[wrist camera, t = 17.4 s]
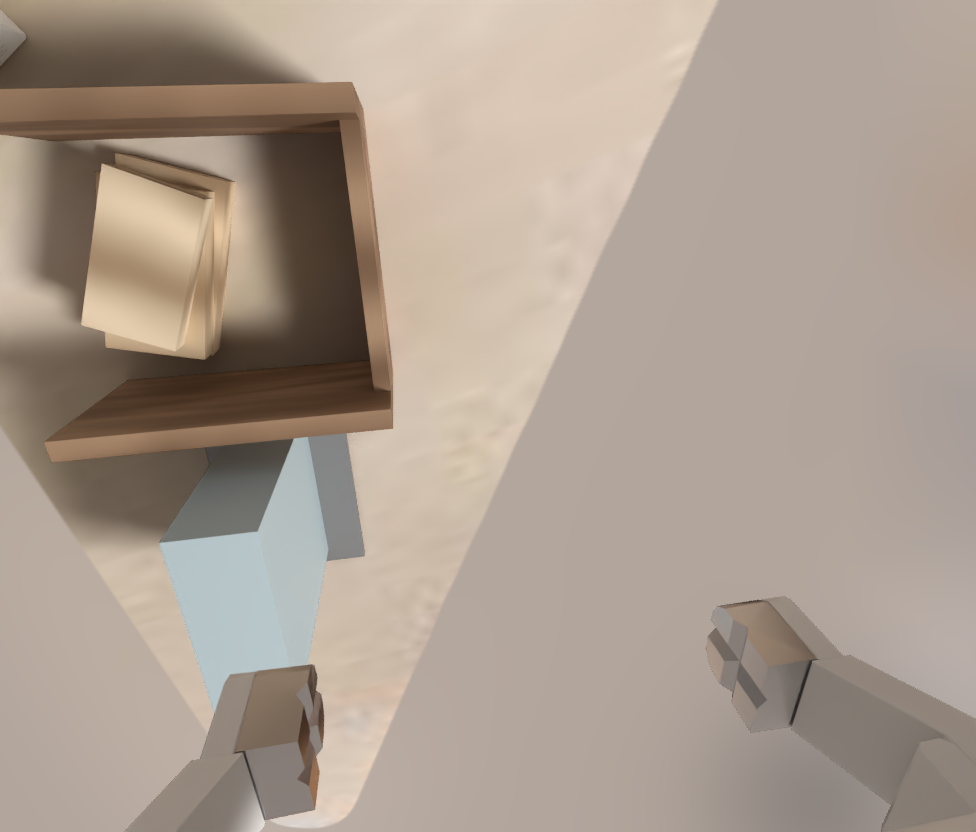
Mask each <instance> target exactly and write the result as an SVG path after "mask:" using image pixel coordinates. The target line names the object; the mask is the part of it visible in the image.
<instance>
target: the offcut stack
mask: <svg viewBox="0 0 976 832" xmlns="http://www.w3.org/2000/svg"><path fill="white" fill-rule="evenodd" d="M95 185H96V201H97V204H96V212H95V220H94V228H93V235H92V243H91V251H90V259H89V266H88V274H87V282H86V290H85V297H84V305H83V313H82V321H81V325H82V326H86V327H90V328H93V329H97V330H100V331H104V332H105V344H106V348H114V349H122V350H130V351H138V352H146V353H154V354H162V355H170V356H178V357H186V358H194V359H203V360H205V359H206V358H207V357H208V356H213V355H214V354H215V353H216V352H217V351H218V350H219V349H220V341H221V331H222V320H223V309H224V298H225V287H226V276H227V265H228V254H229V243H230V232H231V221H232V211H233V200H234V189H235V182H233V181H229V180H225V179H221V178H217V177H214V176H210V175H206V174H202V173H198V172H194V171H190V170H187V169H183V168H179V167H175V166H171V165H167V164H163V163H160V162H156V161H152V160H148V159H144V158H140V157H136V156H133V155H129V154H120V153H115V164H104V163H102V166H101V172H95Z"/></svg>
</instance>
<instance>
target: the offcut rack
mask: <svg viewBox="0 0 976 832" xmlns="http://www.w3.org/2000/svg"><path fill="white" fill-rule="evenodd" d="M324 132H341V138H342V145H343V153H344V161H345V169H346V176H347V184H348V192H349V200H350V207H351V215H352V223H353V231H354V238H355V246H356V254H357V262H358V269H359V277H360V285H361V293H362V300H363V308H364V316H365V324H366V331H367V339H368V347H369V355H370V360H367V361H355V362H343V363H331V364H319V365H307V366H295V367H283V368H271V369H259V370H247V371H235V372H223V373H211V374H199V375H187V376H175V377H163V378H151V379H139V380H127V381H126V382H125V383H123V384H122V385H121V386H119V387H118V388H117V389H115V390H114V391H113V392H111V393H110V394H108V395H107V396H106V397H104V398H103V399H102V400H100V401H99V402H98V403H96V404H95V405H94V406H92V407H91V408H89V409H88V410H87V411H85V412H84V413H83V414H81V415H80V416H79V417H77V418H76V419H75V420H73V421H72V422H70V423H69V424H68V425H66V426H65V427H64V428H62V429H61V430H60V431H58V432H57V433H56V434H54V435H53V436H51V437H50V438H49V439H47V440H46V441H45V442H44V444H45V447H46V449H47V452H48V454H49V457H50V459H51V462H62V461H72V460H82V459H92V458H102V457H112V456H122V455H132V454H142V453H152V452H162V451H172V450H183V449H193V448H203V447H213V446H223V445H233V444H243V443H253V442H263V441H273V440H283V439H293V438H303V437H313V436H323V435H333V434H343V433H353V432H363V431H373V430H383V429H393V369H392V360H391V351H390V342H389V334H388V325H387V316H386V307H385V298H384V289H383V281H382V272H381V263H380V254H379V245H378V236H377V228H376V219H375V210H374V201H373V192H372V183H371V175H370V166H369V157H368V148H367V139H366V130H365V122H364V113H363V108H362V105H361V103H360V101H359V98H358V96H357V93H356V91H355V88H354V86H353V83H352V82H330V83H280V84H230V85H181V86H131V87H81V88H31V89H0V134H1V135H9V136H17V137H25V138H33V139H41V140H48V141H69V140H101V139H132V138H164V137H196V136H228V135H260V134H292V133H324Z"/></svg>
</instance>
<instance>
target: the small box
mask: <svg viewBox="0 0 976 832" xmlns="http://www.w3.org/2000/svg"><path fill="white" fill-rule="evenodd" d="M26 38H27V37H26V35H25V33H24V32H23V31H22V30H20V29H19V28H18V27H17V26H16V25H15V24H14V23H13V22H12V21H11V20H10V19H9V18H8V17H7V16H6V15H5V14H4V13H3V12H2V11H1V10H0V66H1V65H2V64H3V63H4V62H5V61H6V60H7V59H8V58H9V57H10V55H11V54H12V53H13V52H14V51H15V50H16V49H17V48H18V47H19V46H20V45H21V43H22V42H23V41H24V40H25V39H26Z"/></svg>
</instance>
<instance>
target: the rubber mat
mask: <svg viewBox="0 0 976 832" xmlns="http://www.w3.org/2000/svg"><path fill="white" fill-rule="evenodd" d="M308 441H309V446H310V452H311V457H312V463H313V468H314V474H315V479H316V485H317V490H318V496H319V501H320V507H321V512H322V518H323V523H324V528H325V534H326V539H327V545H328V554H327V560H326V561H330V560H338V559H346V558H354V557H362V556H364V555H365V551H364V545H363V538H362V532H361V525H360V519H359V513H358V506H357V500H356V493H355V487H354V480H353V474H352V467H351V461H350V455H349V448H348V442H347V435H346V433H343V434H333V435H323V436H313V437H308ZM221 447H222V446H213V447H205V449H206V453H207V456H208V460H209V464H211V463H212V461H213V459H214V458H215V456H216V455H217V453H218V452H219V450H220V449H221Z"/></svg>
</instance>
